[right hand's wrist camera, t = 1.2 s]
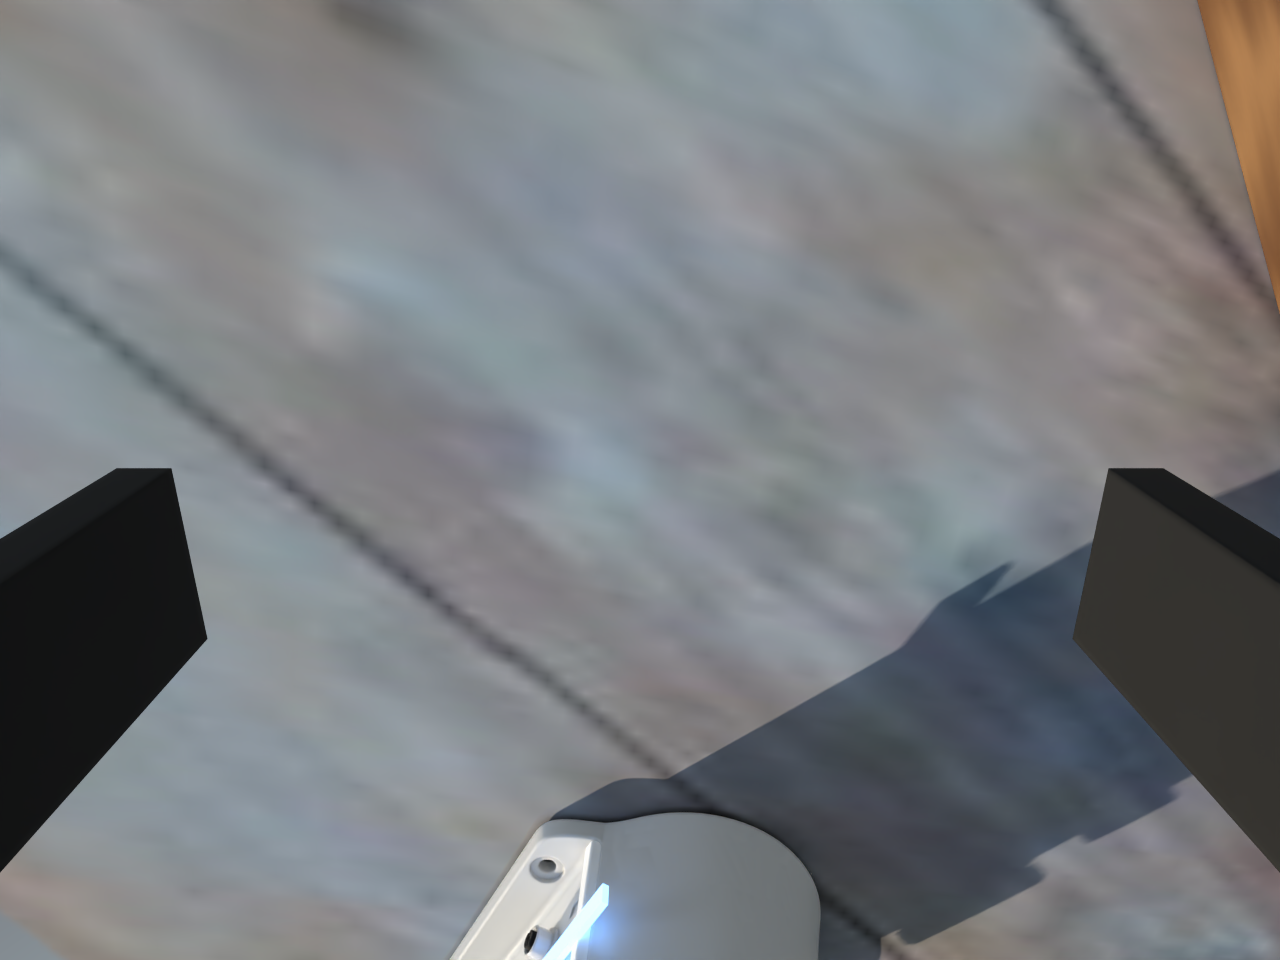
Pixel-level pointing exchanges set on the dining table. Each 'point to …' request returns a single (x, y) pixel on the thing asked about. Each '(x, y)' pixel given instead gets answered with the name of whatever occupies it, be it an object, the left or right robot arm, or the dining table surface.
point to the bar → (1252, 104)
